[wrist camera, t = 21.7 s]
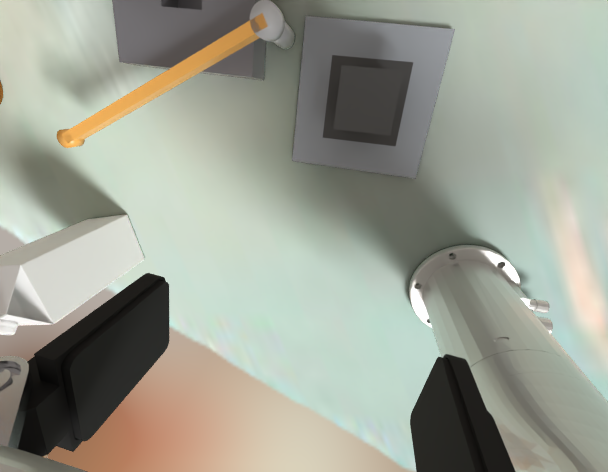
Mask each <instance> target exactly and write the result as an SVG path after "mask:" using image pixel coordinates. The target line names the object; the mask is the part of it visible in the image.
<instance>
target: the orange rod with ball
mask: <svg viewBox="0 0 608 472" xmlns="http://www.w3.org/2000/svg"><path fill="white" fill-rule="evenodd" d="M284 29H285V19H284V16H283V14H282V12H281V11H280V9H279V8H278V7H277V6H276V5H275V4H274V3H273V2H271V1H269V0H261V1H259V2H257V3H256V4H255V5H254V6H253V8H252V10H251V13H250V21H248V22H246V23H245V24H243V25H241V26H240V27H238V28H236V29H235V30H233V31H232V32H230V33H228V34H227V35H225V36H223V37H222V38H220V39H218V40H217V41H215V42H213V43H212V44H210V45H208V46H207V47H205V48H203V49H202V50H200V51H198V52H197V53H195V54H193V55H192V56H190V57H188V58H187V59H185V60H184V61H182V62H180V63H179V64H177V65H175V66H174V67H172V68H170V69H169V70H167V71H165V72H164V73H162V74H160V75H159V76H157V77H155V78H154V79H152V80H150V81H149V82H147V83H145V84H144V85H142V86H140V87H139V88H137V89H136V90H134V91H132V92H131V93H129V94H127V95H126V96H124V97H122V98H121V99H119V100H117V101H116V102H114V103H112V104H111V105H109V106H107V107H106V108H104V109H102V110H101V111H99V112H97V113H96V114H94V115H93V116H91V117H89V118H88V119H86V120H84V121H83V122H81V123H79V124H78V125H76V126H74V127H73V128H71V129H64V130H59V131H58V132H57V139H58V142H59V143H60V144H61V145H62V146H63V147H66V148H70V147H77V146H82V145H83V144H84V139H86V138H87V137H89V136H91V135H92V134H94V133H96V132H98V131H99V130H101V129H103V128H105V127H106V126H108V125H110V124H112V123H113V122H115V121H117V120H118V119H120V118H122V117H124V116H125V115H127V114H129V113H131V112H132V111H134V110H136V109H137V108H139V107H141V106H143V105H144V104H146V103H148V102H150V101H151V100H153V99H155V98H157V97H158V96H160V95H162V94H163V93H165V92H167V91H169V90H170V89H172V88H174V87H176V86H177V85H179V84H181V83H182V82H184V81H186V80H188V79H189V78H191V77H193V76H195V75H196V74H198V73H200V72H202V71H203V70H205V69H207V68H208V67H210V66H212V65H214V64H215V63H217V62H219V61H221V60H222V59H224V58H226V57H227V56H229V55H231V54H233V53H234V52H236V51H238V50H240V49H241V48H243V47H245V46H246V45H248V44H250V43H252V42H253V41H255V40H257V39H259V38H261V39H263V40H265V41H267V42H274V41H276V40H278V39H279V38H280V37H281V36H282V34H283V32H284Z"/></svg>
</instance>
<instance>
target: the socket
mask: <svg viewBox="0 0 608 472" xmlns="http://www.w3.org/2000/svg"><path fill="white" fill-rule="evenodd" d="M259 1H261V0H112V2H113V11H114V19H115V27H116V36H117V44H118V52H119V61H120V62H123V63H128V64H134V65H139V66H145V67H154V68H162V69H170V68H172V67H174V66H175V65H177V64H179V63H180V62H182V61H184V60H185V59H187V58H188V57H190V56H192V55H193V54H195V53H197V52H198V51H200V50H202V49H203V48H205V47H207V46H208V45H210V44H212V43H213V42H215V41H217V40H218V39H220V38H222V37H223V36H225V35H227V34H228V33H230V32H232V31H233V30H235V29H236V28H238V27H240V26H241V25H243V24H245V23H246V22H248V21H250V13H251V10H252V8H253V6H254V5H255V4H256V3H257V2H259ZM294 41H295V34H294V31H293V30H292V29H291V28H290V26H289V25H288V24H287V23H286V22H285V29H284V32H283V34H282V36H281V37H280V38H279V39H278V40H276V41H274V43H275V44H276V45H278V46H279V47H280V48H282V49H289V48H290V47H292V45H293V44H294ZM265 55H266V41H265V40H263V39H261V38H259V39H257V40H255V41H253V42H252V43H250V44H248V45H246V46H245V47H243V48H241V49H240V50H238V51H236V52H234V53H233V54H231V55H229V56H227V57H226V58H224V59H222V60H221V61H219V62H217V63H215V64H214V65H212V66H210V67H208V68H207V69H205V70H203V71H202V72H200V73H205V74H214V75H222V76H231V77H240V78H248V79H257V80H264V74H265Z"/></svg>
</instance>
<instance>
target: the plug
mask: <svg viewBox="0 0 608 472" xmlns="http://www.w3.org/2000/svg"><path fill="white" fill-rule="evenodd" d="M412 67H413V62H405V61H394V60H383V59H371V58H360V57H349V56H338V55H332V62H331V70H330V79H329V87H328V96H327V104H326V113H325V121H324V130H323V138H330V139H338V140H346V141H355V142H363V143H371V144H380V145H388V146H396V142H397V137H398V133H399V128H400V123H401V119H402V114H403V109H404V104H405V100H406V95H407V90H408V86H409V81H410V76H411V72H412Z"/></svg>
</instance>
